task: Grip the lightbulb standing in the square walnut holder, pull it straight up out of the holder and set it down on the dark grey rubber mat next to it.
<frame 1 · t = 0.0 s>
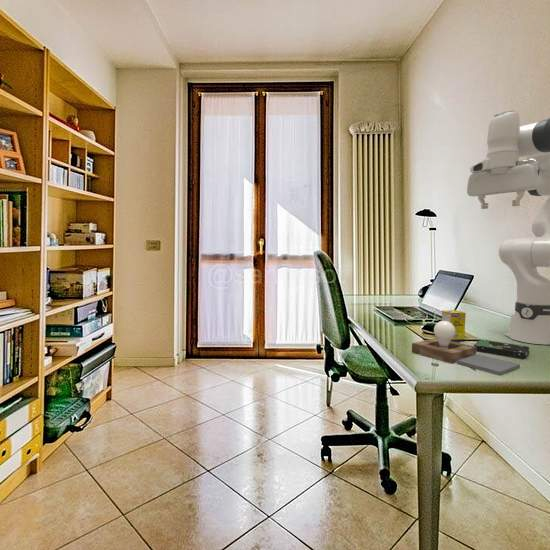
hand: (499, 207, 117), 48 cm above the table, tool pointing down, fingers open, 8 cm apart
mat: (488, 365, 107), on the table
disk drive: (500, 353, 122), on the table
holder: (443, 354, 119), on the table
lightbulb: (443, 354, 119), resting in holder
supplement box: (452, 340, 138), on the table
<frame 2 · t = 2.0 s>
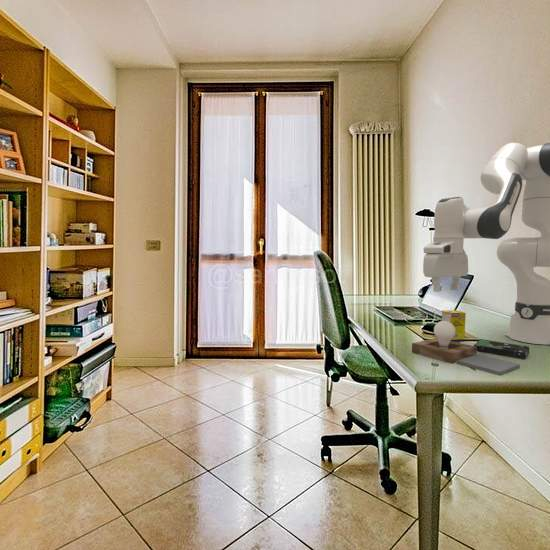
hand: (445, 290, 117), 21 cm above the table, tool pointing down, fingers open, 8 cm apart
nothing on the table moved.
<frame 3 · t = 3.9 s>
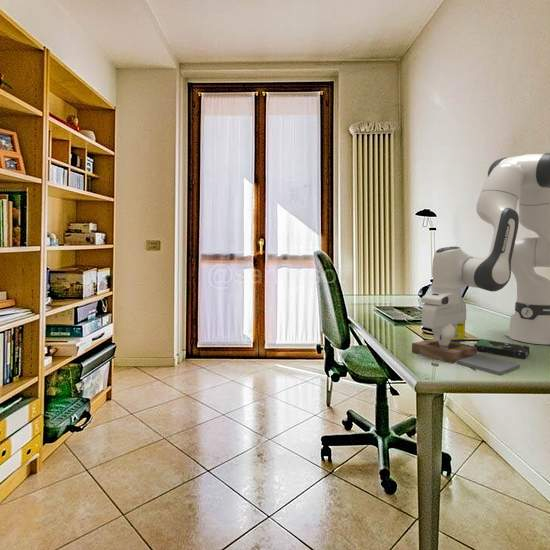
hand: (444, 338, 118), 5 cm above the table, tool pointing down, fingers closed on lightbulb, 6 cm apart
lightbulb: (443, 354, 119), resting in holder, touching gripper
everything else where it was.
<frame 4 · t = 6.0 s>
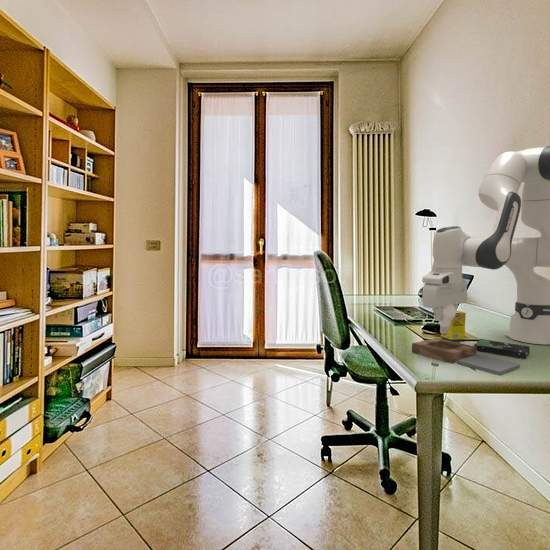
hand: (445, 319, 118), 12 cm above the table, tool pointing down, fingers closed on lightbulb, 6 cm apart
lightbulb: (444, 335, 119), point 6 cm above the table, touching gripper
everything else where it was.
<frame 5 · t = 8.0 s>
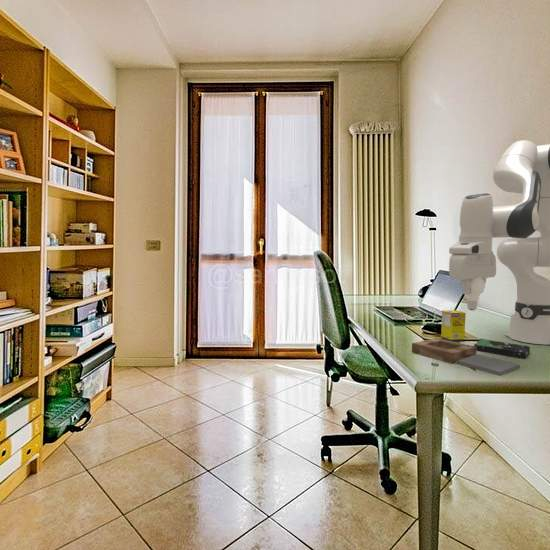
hand: (472, 293, 110), 21 cm above the table, tool pointing down, fingers closed on lightbulb, 6 cm apart
lightbulb: (471, 310, 111), point 16 cm above the table, touching gripper
everything else where it was.
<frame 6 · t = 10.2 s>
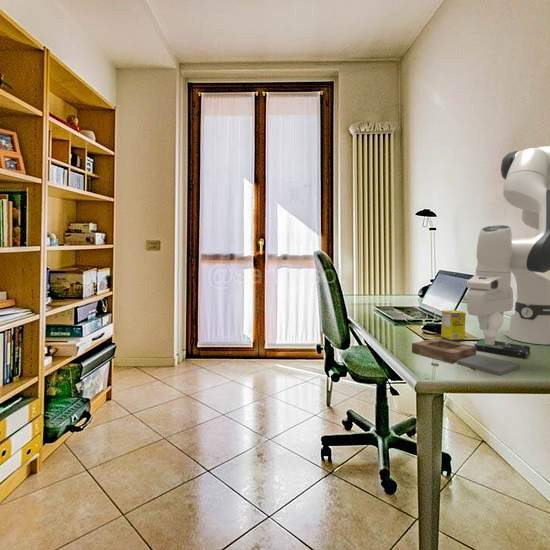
hand: (490, 328, 106), 11 cm above the table, tool pointing down, fingers closed on lightbulb, 6 cm apart
lightbulb: (489, 346, 107), point 6 cm above the table, touching gripper
everything else where it was.
when the fingers open (8 cm above the table, at t = 11.9 s): lightbulb drops 1 cm, resting on mat.
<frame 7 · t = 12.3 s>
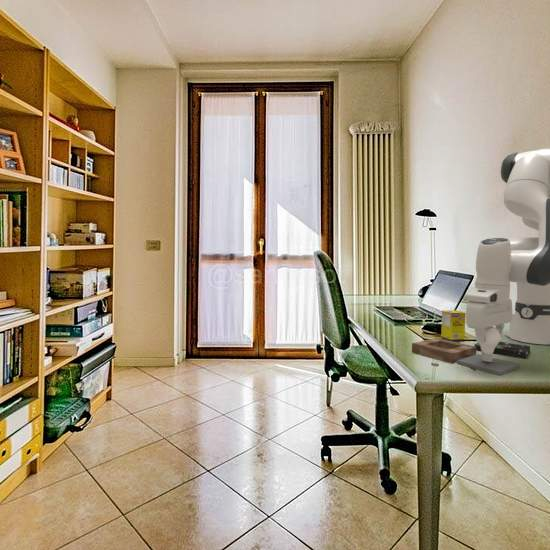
hand: (489, 340, 107), 8 cm above the table, tool pointing down, fingers open, 8 cm apart
lightbulb: (486, 363, 107), point 1 cm above the table, touching mat
everything else where it was.
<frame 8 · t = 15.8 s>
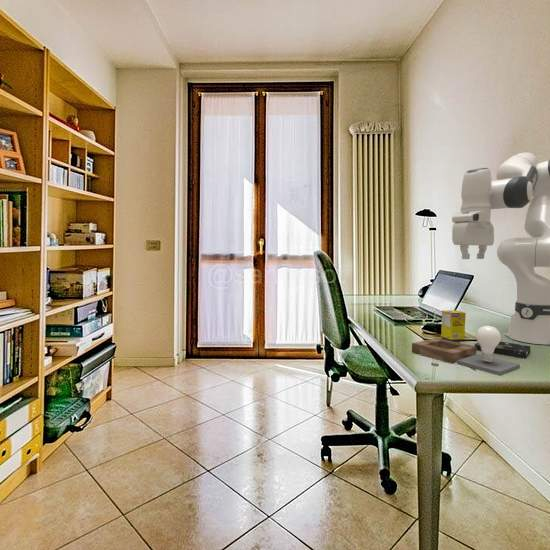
hand: (473, 259, 121), 31 cm above the table, tool pointing down, fingers open, 8 cm apart
at the end: lightbulb inside the target area on the mat (0.6 cm from its centre), point 0.8 cm above the mat's base; lightbulb touching mat; the gripper is holding nothing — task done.
